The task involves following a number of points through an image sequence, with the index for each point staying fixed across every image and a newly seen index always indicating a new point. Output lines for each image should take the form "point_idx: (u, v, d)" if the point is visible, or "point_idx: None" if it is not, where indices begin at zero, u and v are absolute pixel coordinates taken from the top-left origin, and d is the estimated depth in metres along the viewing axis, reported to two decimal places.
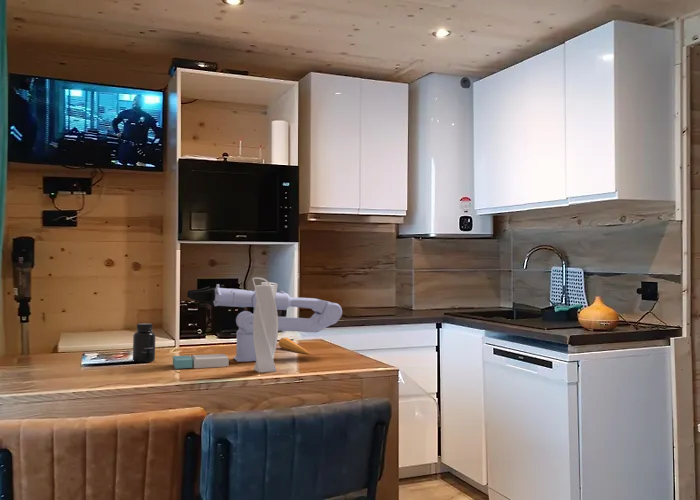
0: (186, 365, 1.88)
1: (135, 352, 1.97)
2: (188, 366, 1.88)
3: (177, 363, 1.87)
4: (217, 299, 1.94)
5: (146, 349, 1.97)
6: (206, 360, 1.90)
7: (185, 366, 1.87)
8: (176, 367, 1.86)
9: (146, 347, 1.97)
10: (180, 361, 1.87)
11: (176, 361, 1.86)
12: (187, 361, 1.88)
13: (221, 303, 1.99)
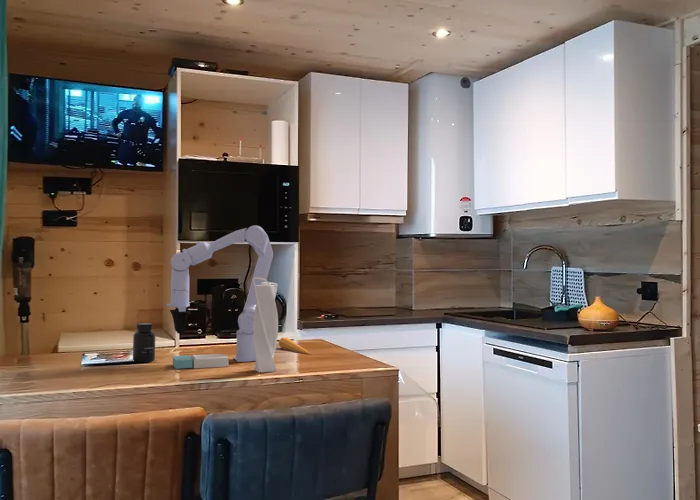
0: (186, 365, 1.88)
1: (135, 352, 1.97)
2: (188, 366, 1.88)
3: (177, 363, 1.87)
4: (183, 309, 1.93)
5: (146, 349, 1.97)
6: (206, 360, 1.90)
7: (185, 366, 1.87)
8: (176, 367, 1.86)
9: (146, 347, 1.97)
10: (180, 361, 1.87)
11: (176, 361, 1.86)
12: (187, 361, 1.88)
13: (187, 300, 1.99)
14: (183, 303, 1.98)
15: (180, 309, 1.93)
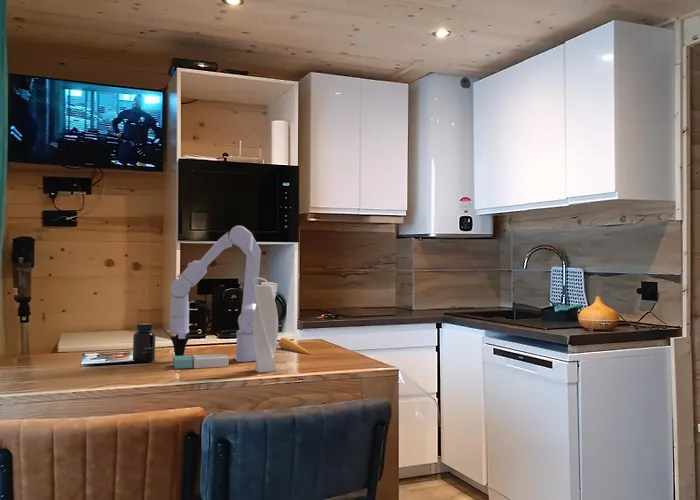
0: (186, 365, 1.88)
1: (135, 352, 1.97)
2: (188, 366, 1.88)
3: (177, 363, 1.87)
4: (183, 336, 1.93)
5: (146, 349, 1.97)
6: (206, 360, 1.90)
7: (185, 366, 1.87)
8: (176, 367, 1.86)
9: (146, 347, 1.97)
10: (180, 361, 1.87)
11: (176, 361, 1.86)
12: (187, 361, 1.88)
13: (186, 327, 1.99)
14: (183, 329, 1.98)
15: (180, 336, 1.93)
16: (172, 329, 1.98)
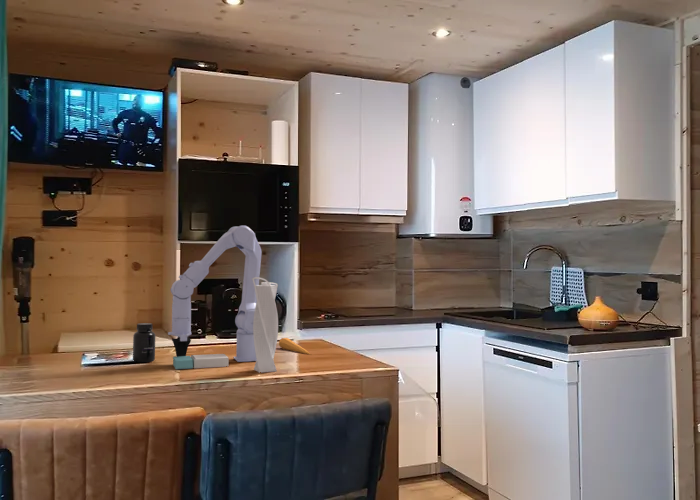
0: (186, 365, 1.87)
1: (135, 352, 1.97)
2: (188, 366, 1.87)
3: (177, 363, 1.86)
4: (185, 338, 1.89)
5: (146, 349, 1.97)
6: (206, 360, 1.90)
7: (185, 367, 1.87)
8: (176, 367, 1.86)
9: (146, 347, 1.97)
10: (180, 361, 1.86)
11: (176, 361, 1.86)
12: (187, 361, 1.87)
13: (188, 329, 1.94)
14: (184, 332, 1.93)
15: (181, 339, 1.88)
16: (174, 331, 1.93)
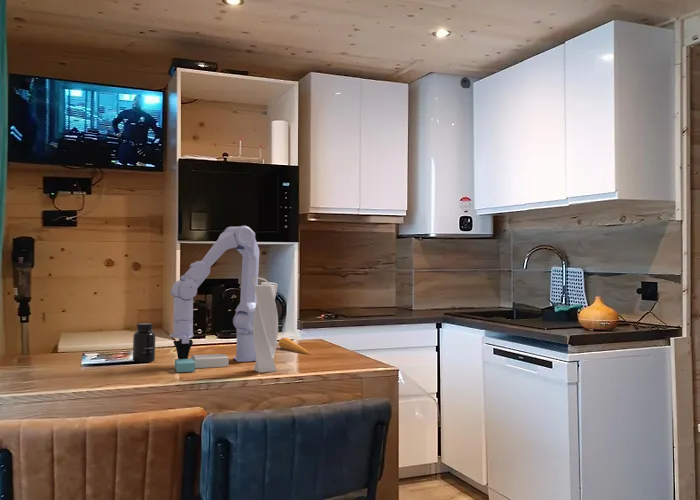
0: (188, 368, 1.82)
1: (135, 352, 1.97)
2: (190, 370, 1.82)
3: (179, 366, 1.81)
4: (187, 341, 1.84)
5: (146, 349, 1.97)
6: (206, 360, 1.90)
7: (187, 370, 1.82)
8: (178, 371, 1.81)
9: (146, 347, 1.97)
10: (182, 364, 1.81)
11: (178, 364, 1.81)
12: (189, 364, 1.82)
13: (190, 331, 1.89)
14: (186, 334, 1.88)
15: (183, 341, 1.83)
16: (175, 333, 1.88)
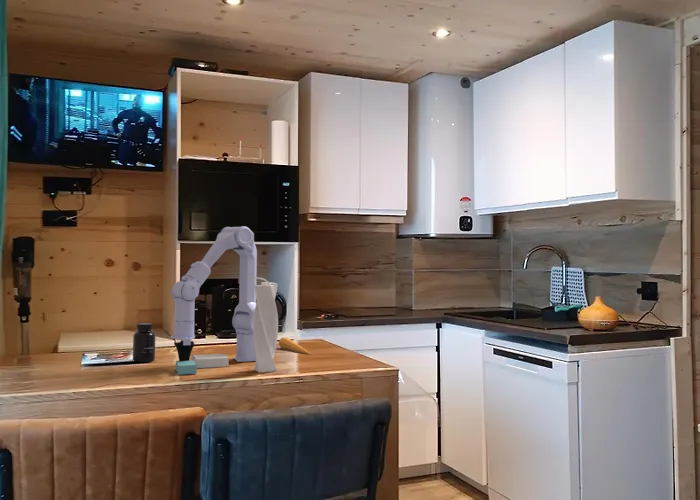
0: (190, 370, 1.79)
1: (135, 352, 1.97)
2: (192, 372, 1.79)
3: (180, 369, 1.78)
4: (188, 342, 1.80)
5: (146, 349, 1.97)
6: (206, 360, 1.90)
7: (188, 372, 1.78)
8: (179, 373, 1.78)
9: (146, 347, 1.97)
10: (183, 367, 1.78)
11: (179, 367, 1.78)
12: (191, 367, 1.79)
13: (192, 332, 1.86)
14: (188, 335, 1.85)
15: (185, 343, 1.80)
16: (176, 335, 1.85)
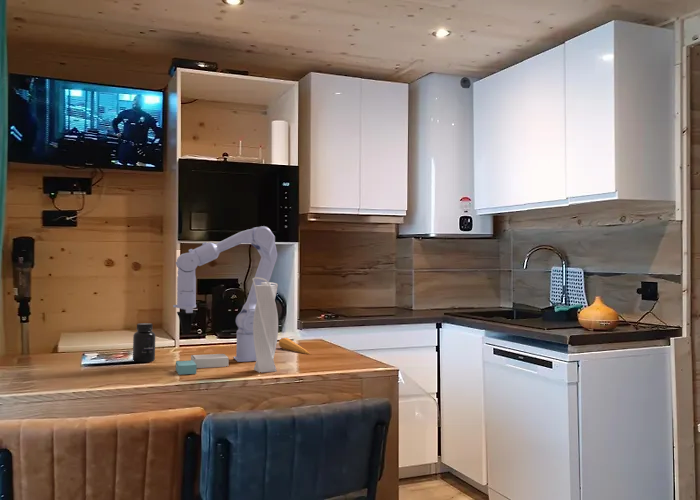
0: (190, 370, 1.79)
1: (135, 352, 1.97)
2: (192, 372, 1.79)
3: (180, 369, 1.78)
4: (191, 310, 1.90)
5: (146, 349, 1.97)
6: (206, 360, 1.90)
7: (188, 372, 1.78)
8: (179, 373, 1.78)
9: (146, 347, 1.97)
10: (183, 367, 1.78)
11: (179, 367, 1.78)
12: (191, 367, 1.79)
13: (193, 302, 1.96)
14: (190, 304, 1.95)
15: (187, 310, 1.90)
16: (179, 304, 1.95)
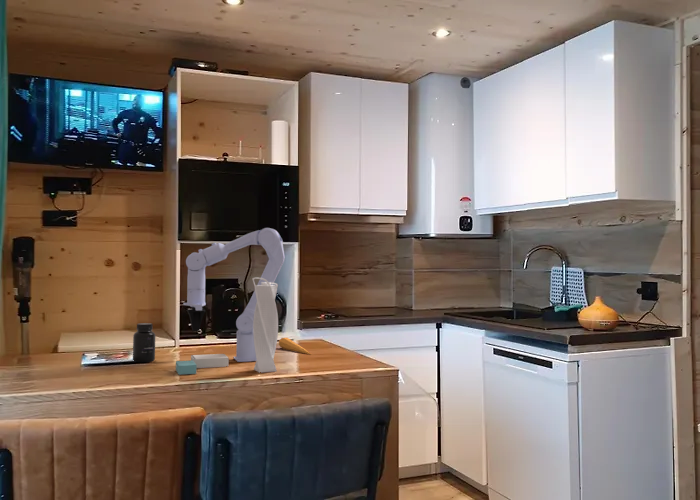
0: (190, 370, 1.79)
1: (135, 352, 1.97)
2: (192, 372, 1.79)
3: (180, 369, 1.78)
4: (200, 308, 1.98)
5: (146, 349, 1.97)
6: (206, 360, 1.90)
7: (188, 372, 1.78)
8: (179, 373, 1.78)
9: (146, 347, 1.97)
10: (183, 367, 1.78)
11: (179, 367, 1.78)
12: (191, 367, 1.79)
13: (203, 300, 2.03)
14: (199, 302, 2.02)
15: (197, 308, 1.97)
16: (189, 302, 2.02)
